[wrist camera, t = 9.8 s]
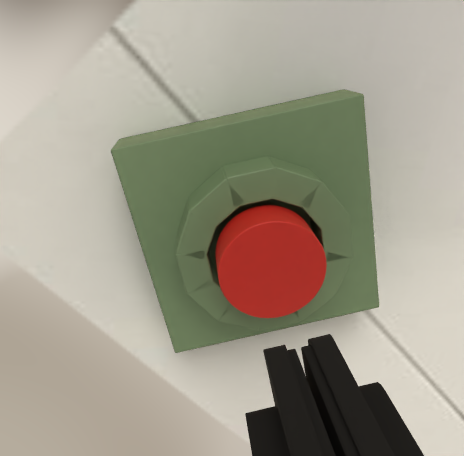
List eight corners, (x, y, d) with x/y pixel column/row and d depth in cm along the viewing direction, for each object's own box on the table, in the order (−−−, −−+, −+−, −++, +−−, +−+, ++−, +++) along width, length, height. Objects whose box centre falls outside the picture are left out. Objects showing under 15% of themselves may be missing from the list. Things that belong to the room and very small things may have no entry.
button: (205, 216, 16) (207, 235, 15) (307, 194, 16) (320, 210, 15) (226, 303, 18) (230, 329, 16) (319, 283, 18) (332, 305, 16)
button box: (118, 139, 18) (101, 160, 15) (344, 88, 18) (383, 98, 15) (176, 326, 22) (174, 380, 19) (362, 284, 22) (396, 330, 19)
